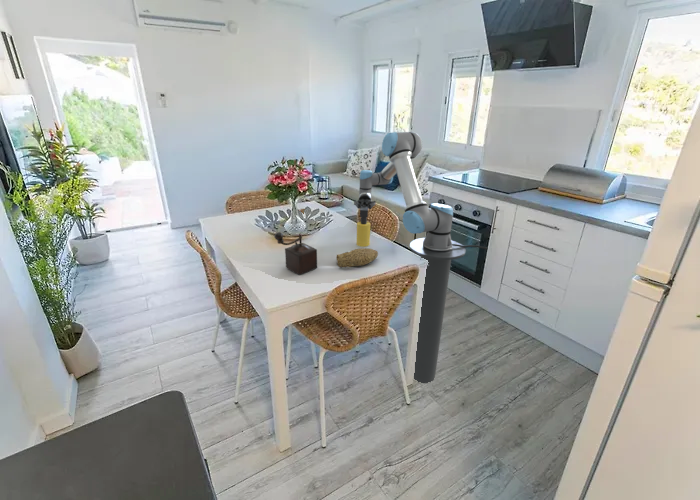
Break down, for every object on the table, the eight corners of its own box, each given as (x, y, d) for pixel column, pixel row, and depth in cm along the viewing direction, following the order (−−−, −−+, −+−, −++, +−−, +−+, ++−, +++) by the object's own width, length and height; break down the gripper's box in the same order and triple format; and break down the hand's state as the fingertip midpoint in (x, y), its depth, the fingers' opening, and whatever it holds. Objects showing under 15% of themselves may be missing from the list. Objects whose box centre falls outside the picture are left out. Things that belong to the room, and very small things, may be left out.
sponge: (339, 273, 156) (383, 263, 157) (336, 257, 154) (379, 246, 155) (337, 265, 168) (377, 256, 169) (334, 250, 166) (374, 240, 168)
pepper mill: (302, 260, 164) (301, 224, 157) (317, 267, 157) (317, 230, 150) (275, 270, 154) (271, 232, 147) (289, 279, 147) (287, 239, 140)
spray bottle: (369, 242, 189) (371, 207, 182) (369, 247, 182) (371, 211, 174) (356, 241, 189) (357, 206, 182) (356, 247, 182) (357, 210, 175)
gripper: (375, 206, 211) (375, 217, 190) (353, 205, 212) (352, 216, 190) (376, 193, 209) (376, 204, 187) (354, 193, 209) (352, 203, 187)
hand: (364, 210), depth 189 cm, fingers closed
